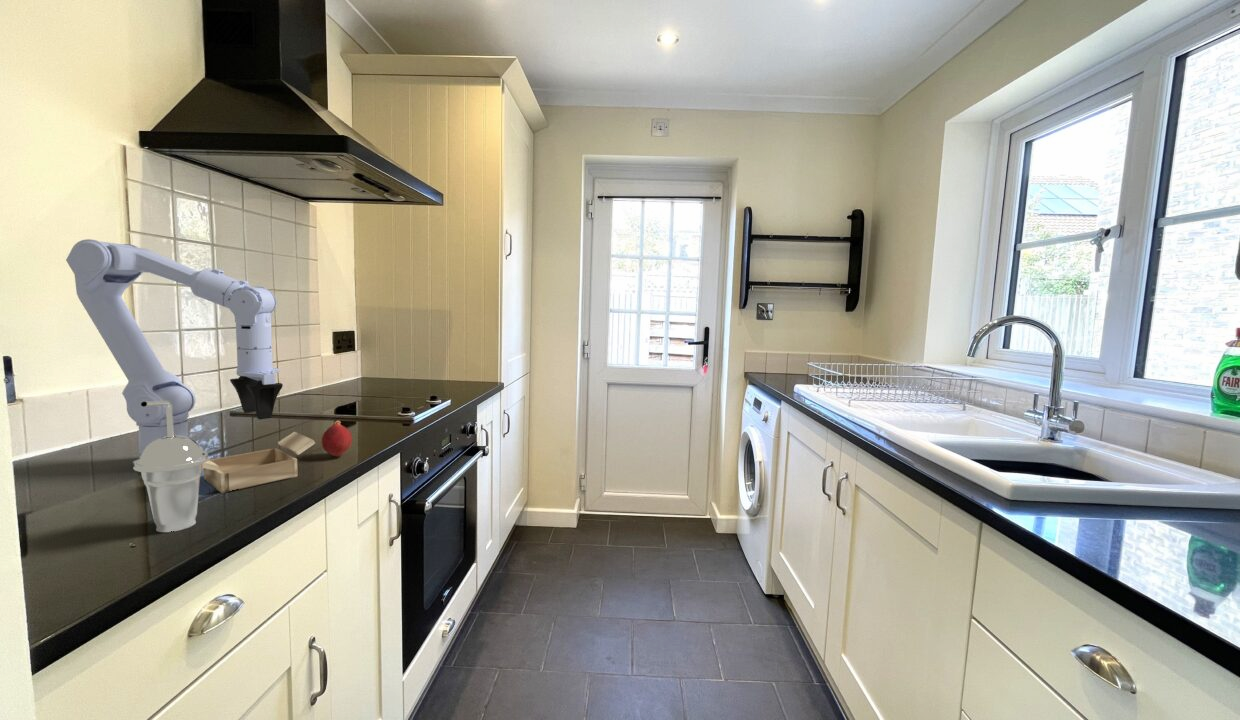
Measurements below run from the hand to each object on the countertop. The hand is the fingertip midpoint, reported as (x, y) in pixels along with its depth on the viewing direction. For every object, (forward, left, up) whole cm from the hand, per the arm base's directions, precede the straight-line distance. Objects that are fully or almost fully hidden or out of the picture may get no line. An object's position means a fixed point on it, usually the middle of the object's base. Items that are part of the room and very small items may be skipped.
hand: (257, 415), depth 103 cm
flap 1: (+7, -11, -5) cm, 14 cm away
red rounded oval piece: (+5, +13, -11) cm, 18 cm away
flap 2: (+7, +4, -5) cm, 9 cm away
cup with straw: (+22, -18, -11) cm, 30 cm away
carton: (+7, -4, -10) cm, 13 cm away
